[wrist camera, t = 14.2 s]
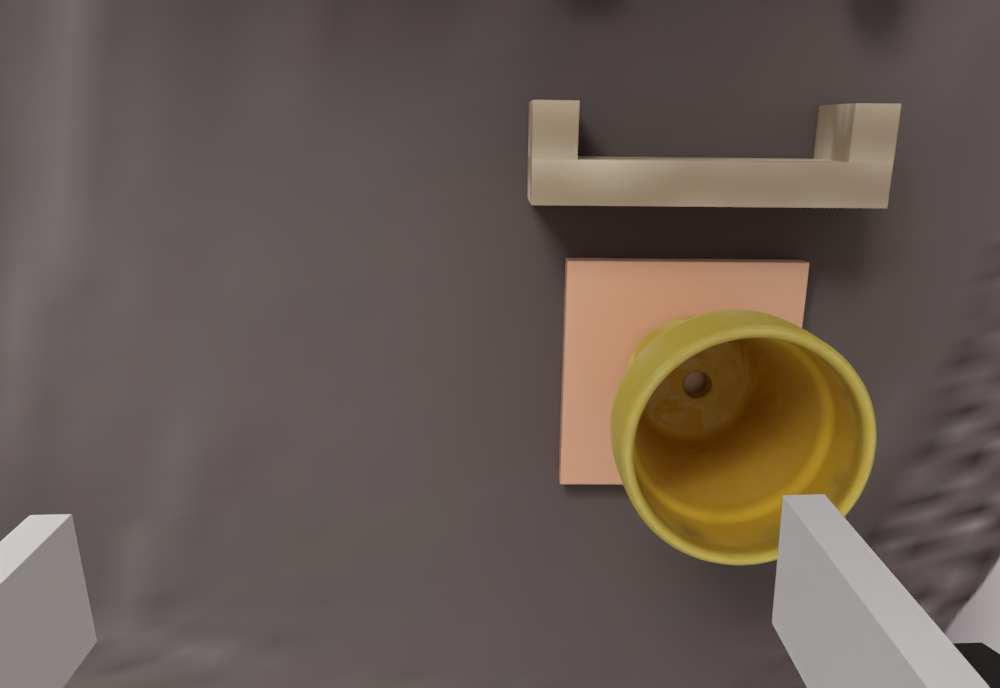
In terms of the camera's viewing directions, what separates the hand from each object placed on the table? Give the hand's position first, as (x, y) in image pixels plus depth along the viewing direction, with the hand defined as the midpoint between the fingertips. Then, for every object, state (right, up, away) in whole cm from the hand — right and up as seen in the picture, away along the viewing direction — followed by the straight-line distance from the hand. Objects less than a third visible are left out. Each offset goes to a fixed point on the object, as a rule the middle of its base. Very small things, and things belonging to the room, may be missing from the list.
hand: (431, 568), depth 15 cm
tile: (+11, +3, +27) cm, 29 cm away
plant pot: (+11, +3, +26) cm, 29 cm away
